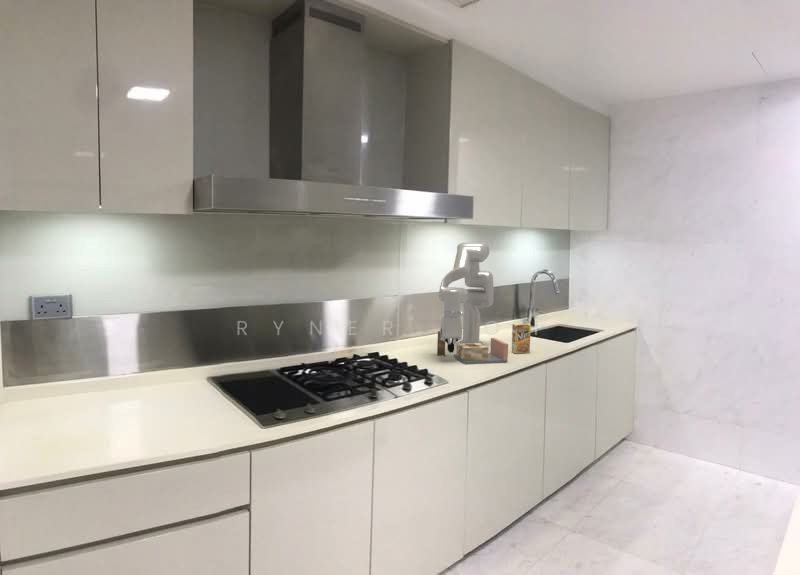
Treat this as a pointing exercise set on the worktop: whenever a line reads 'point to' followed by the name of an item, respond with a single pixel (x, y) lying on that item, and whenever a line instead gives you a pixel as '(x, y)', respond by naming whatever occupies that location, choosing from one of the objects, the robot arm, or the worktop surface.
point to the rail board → (490, 360)
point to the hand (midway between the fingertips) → (450, 351)
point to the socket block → (472, 351)
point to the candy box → (521, 338)
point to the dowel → (440, 345)
